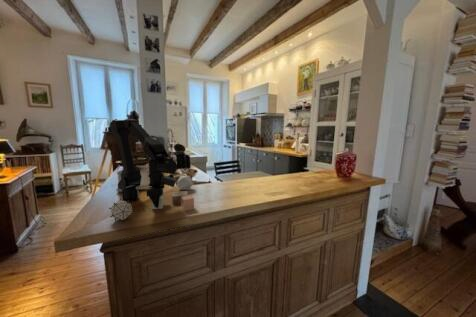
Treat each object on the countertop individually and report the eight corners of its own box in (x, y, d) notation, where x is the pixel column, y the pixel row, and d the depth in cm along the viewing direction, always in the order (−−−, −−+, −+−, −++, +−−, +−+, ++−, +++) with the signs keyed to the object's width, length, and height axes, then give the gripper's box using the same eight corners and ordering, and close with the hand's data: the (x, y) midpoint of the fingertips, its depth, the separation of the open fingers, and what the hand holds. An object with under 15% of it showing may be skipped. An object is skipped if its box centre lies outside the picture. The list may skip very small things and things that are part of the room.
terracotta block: (184, 210, 88) (183, 200, 87) (181, 207, 92) (180, 196, 91) (194, 208, 90) (193, 198, 89) (190, 205, 94) (190, 195, 93)
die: (184, 194, 111) (194, 179, 113) (171, 185, 112) (181, 170, 114) (188, 194, 120) (197, 180, 121) (175, 186, 120) (185, 172, 122)
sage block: (151, 209, 89) (151, 198, 88) (153, 205, 93) (152, 195, 93) (162, 208, 90) (162, 197, 90) (163, 204, 95) (162, 194, 94)
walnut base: (172, 204, 95) (172, 196, 95) (173, 199, 102) (173, 191, 101) (187, 203, 97) (187, 195, 96) (187, 198, 104) (187, 190, 103)
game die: (120, 227, 81) (117, 203, 84) (140, 219, 81) (137, 196, 85) (104, 226, 72) (102, 200, 76) (127, 217, 73) (123, 191, 76)
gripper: (174, 174, 83) (176, 210, 85) (174, 166, 101) (176, 196, 103) (145, 176, 80) (147, 213, 82) (150, 167, 97) (152, 198, 100)
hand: (157, 204), depth 92 cm, fingers open, 7 cm apart
